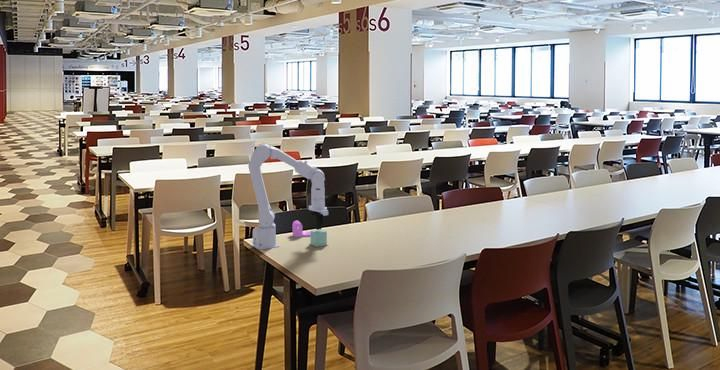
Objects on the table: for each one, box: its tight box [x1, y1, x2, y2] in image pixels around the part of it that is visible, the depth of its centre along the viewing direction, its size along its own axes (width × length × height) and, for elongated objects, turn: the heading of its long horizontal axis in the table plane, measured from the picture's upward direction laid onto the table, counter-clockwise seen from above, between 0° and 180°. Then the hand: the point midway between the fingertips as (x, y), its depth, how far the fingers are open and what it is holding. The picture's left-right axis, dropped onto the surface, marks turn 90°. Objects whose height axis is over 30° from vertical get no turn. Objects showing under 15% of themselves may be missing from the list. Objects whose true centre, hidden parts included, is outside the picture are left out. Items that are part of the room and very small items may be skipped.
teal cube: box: [309, 228, 328, 248], centre depth 272 cm, size 5×5×6 cm
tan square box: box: [308, 243, 329, 248], centre depth 273 cm, size 6×6×4 cm
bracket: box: [292, 220, 310, 238], centre depth 291 cm, size 13×6×7 cm, turn 104°
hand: (318, 229), depth 272 cm, fingers closed
